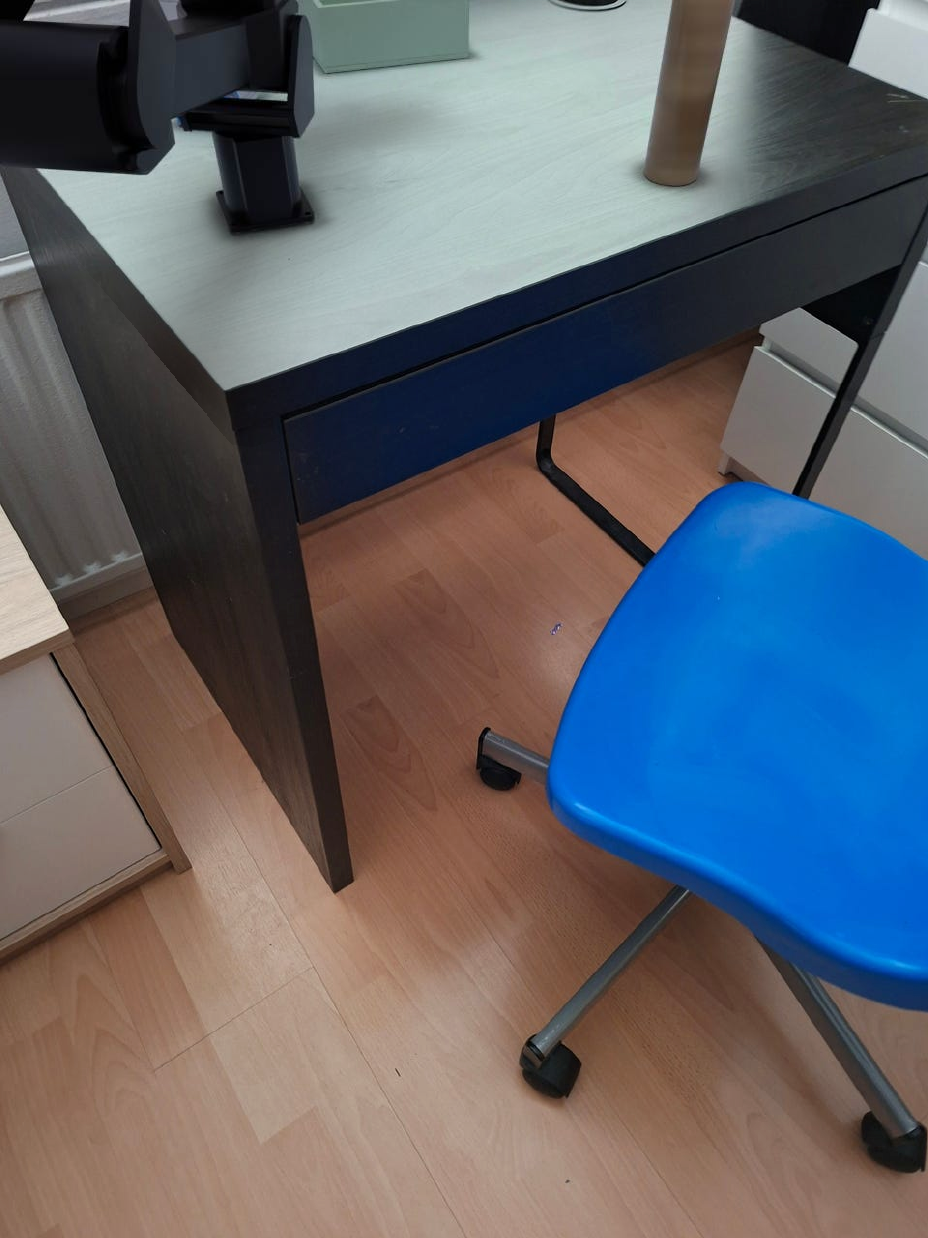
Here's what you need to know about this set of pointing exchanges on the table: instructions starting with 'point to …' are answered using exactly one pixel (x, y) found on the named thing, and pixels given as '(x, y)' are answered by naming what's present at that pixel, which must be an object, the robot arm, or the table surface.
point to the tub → (385, 32)
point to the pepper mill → (686, 89)
